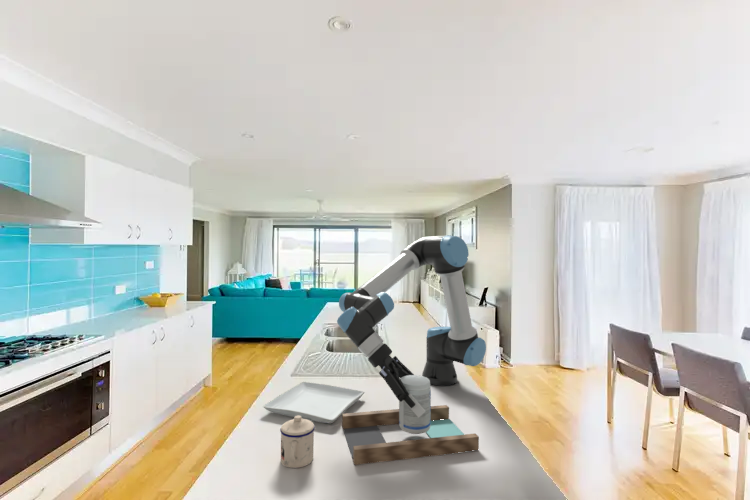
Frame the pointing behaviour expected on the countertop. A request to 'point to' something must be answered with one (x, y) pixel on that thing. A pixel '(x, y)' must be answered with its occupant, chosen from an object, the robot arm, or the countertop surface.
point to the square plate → (314, 402)
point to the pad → (443, 429)
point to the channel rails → (405, 448)
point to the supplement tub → (422, 394)
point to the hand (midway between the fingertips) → (425, 407)
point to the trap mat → (363, 436)
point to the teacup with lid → (297, 442)
